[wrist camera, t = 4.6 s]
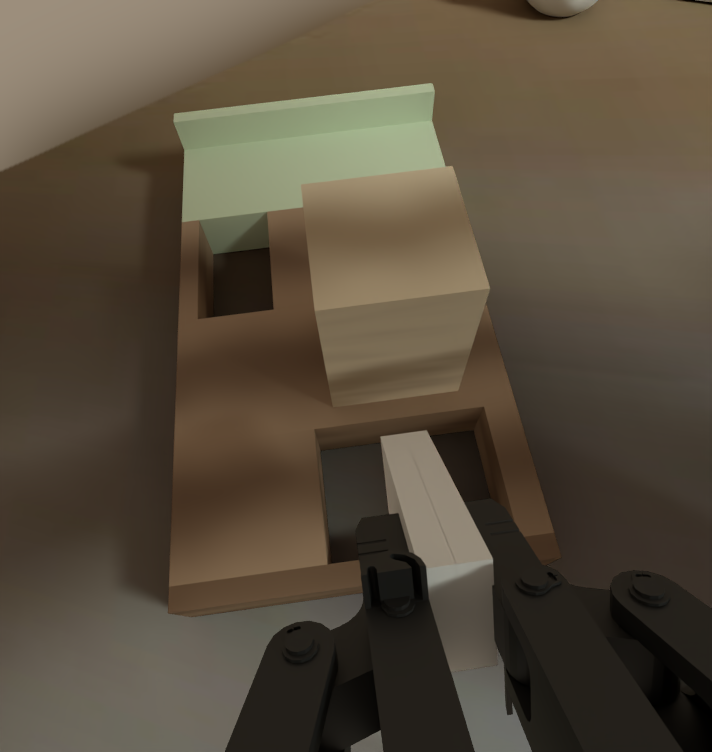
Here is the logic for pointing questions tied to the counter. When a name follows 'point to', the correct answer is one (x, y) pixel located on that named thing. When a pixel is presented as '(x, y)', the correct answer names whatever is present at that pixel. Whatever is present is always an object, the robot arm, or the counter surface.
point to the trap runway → (300, 439)
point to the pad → (295, 154)
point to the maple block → (393, 283)
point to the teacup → (561, 6)
